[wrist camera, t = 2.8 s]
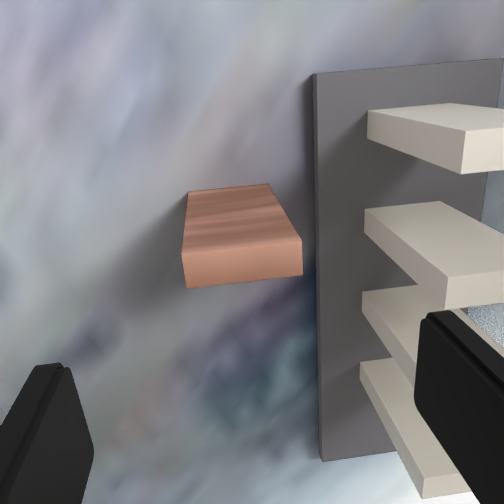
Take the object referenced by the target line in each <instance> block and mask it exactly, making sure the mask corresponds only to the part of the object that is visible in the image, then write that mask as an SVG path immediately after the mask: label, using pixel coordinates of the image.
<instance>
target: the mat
mask: <svg viewBox="0 0 504 504" xmlns="http://www.w3.org/2000/svg"><path fill="white" fill-rule="evenodd" d="M503 62H504V58H500V59H486V60H474V61H462V62H450V63H437V64H425V65H413V66H401V67H389V68H377V69H365V70H353V71H341V72H329V73H317V74H313V125H314V183H315V241H316V298H317V356H318V413H319V453H320V457H321V460H322V462H327V461H333V460H340V459H347V458H353V457H360V456H367V455H374V454H380V453H387V452H394V451H397V450H396V448H395V446H394V444H393V443H392V441H391V439H390V437H389V435H388V433H387V431H386V429H385V427H384V425H383V423H382V421H381V419H380V417H379V416H378V414H377V412H376V410H375V408H374V406H373V404H372V402H371V400H370V398H369V396H368V394H367V392H366V390H365V389H364V387H363V385H362V383H361V381H360V362H363V361H371V360H378V359H386V358H393V357H392V356H391V354H390V353H389V351H388V350H387V348H386V347H385V345H384V344H383V342H382V341H381V339H380V338H379V336H378V335H377V333H376V332H375V330H374V329H373V327H372V326H371V324H370V323H369V321H368V320H367V319H366V317H365V316H364V314H363V313H362V291H371V290H379V289H387V288H396V287H404V286H412V285H418V284H417V283H416V282H415V281H414V280H413V279H412V278H411V277H410V276H409V275H408V274H407V273H406V272H405V271H404V270H403V269H402V268H400V267H399V266H398V265H397V264H396V263H395V262H394V261H393V260H392V259H391V258H390V257H389V256H388V255H387V254H386V253H385V252H384V251H383V250H382V249H381V248H380V247H379V246H378V245H377V244H376V243H375V242H374V241H373V240H372V239H371V238H370V237H368V236H367V235H366V234H365V233H364V220H365V209H368V208H377V207H387V206H396V205H405V204H415V203H424V202H434V201H441V202H443V203H445V204H447V205H449V206H451V207H453V208H455V209H456V210H458V211H460V212H462V213H464V214H466V215H468V216H470V217H472V218H473V219H475V220H477V221H479V222H480V221H481V214H482V207H483V200H484V194H485V187H486V180H487V173H488V172H478V173H468V174H459V173H456V172H454V171H451V170H448V169H446V168H443V167H440V166H438V165H435V164H433V163H430V162H427V161H425V160H422V159H419V158H417V157H414V156H412V155H409V154H406V153H404V152H401V151H399V150H396V149H393V148H391V147H388V146H385V145H383V144H380V143H378V142H375V141H372V140H370V139H367V122H368V110H378V109H389V108H400V107H411V106H422V105H434V104H445V103H454V104H463V105H472V106H481V107H490V108H497V104H498V97H499V90H500V83H501V76H502V69H503ZM459 309H461V310H462V311H463V312H464V313H465V314H466V315H467V311H468V307H465V308H459Z"/></svg>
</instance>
